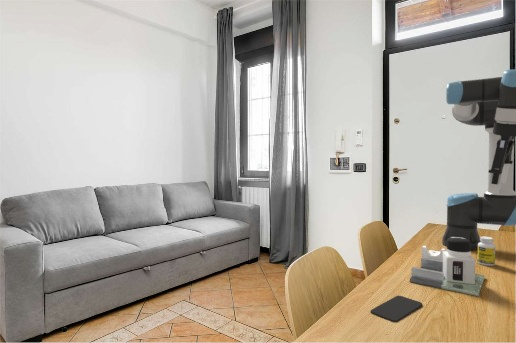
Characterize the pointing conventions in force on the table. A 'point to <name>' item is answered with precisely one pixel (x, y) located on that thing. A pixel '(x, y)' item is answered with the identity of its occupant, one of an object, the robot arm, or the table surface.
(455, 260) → the container
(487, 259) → the supplement bottle
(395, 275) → the table surface
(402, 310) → the phone
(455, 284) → the board
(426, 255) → the bracket
